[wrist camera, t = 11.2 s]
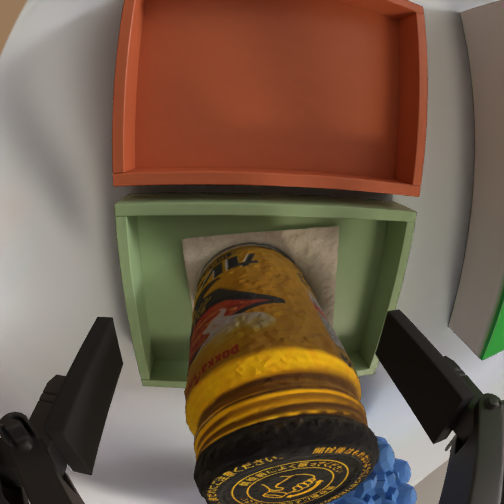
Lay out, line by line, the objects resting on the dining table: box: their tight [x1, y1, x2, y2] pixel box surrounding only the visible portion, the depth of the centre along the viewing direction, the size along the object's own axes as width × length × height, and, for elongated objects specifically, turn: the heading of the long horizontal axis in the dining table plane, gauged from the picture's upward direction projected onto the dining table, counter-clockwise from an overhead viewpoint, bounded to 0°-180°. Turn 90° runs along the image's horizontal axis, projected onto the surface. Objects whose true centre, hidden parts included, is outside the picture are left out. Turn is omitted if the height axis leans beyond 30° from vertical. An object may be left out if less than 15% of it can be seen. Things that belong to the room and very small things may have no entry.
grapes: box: [327, 436, 417, 504], centre depth 18 cm, size 12×7×12 cm, turn 69°
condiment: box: [181, 226, 380, 504], centre depth 12 cm, size 7×8×12 cm
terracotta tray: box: [112, 0, 428, 197], centre depth 13 cm, size 11×15×2 cm
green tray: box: [114, 193, 417, 388], centre depth 17 cm, size 11×15×2 cm
